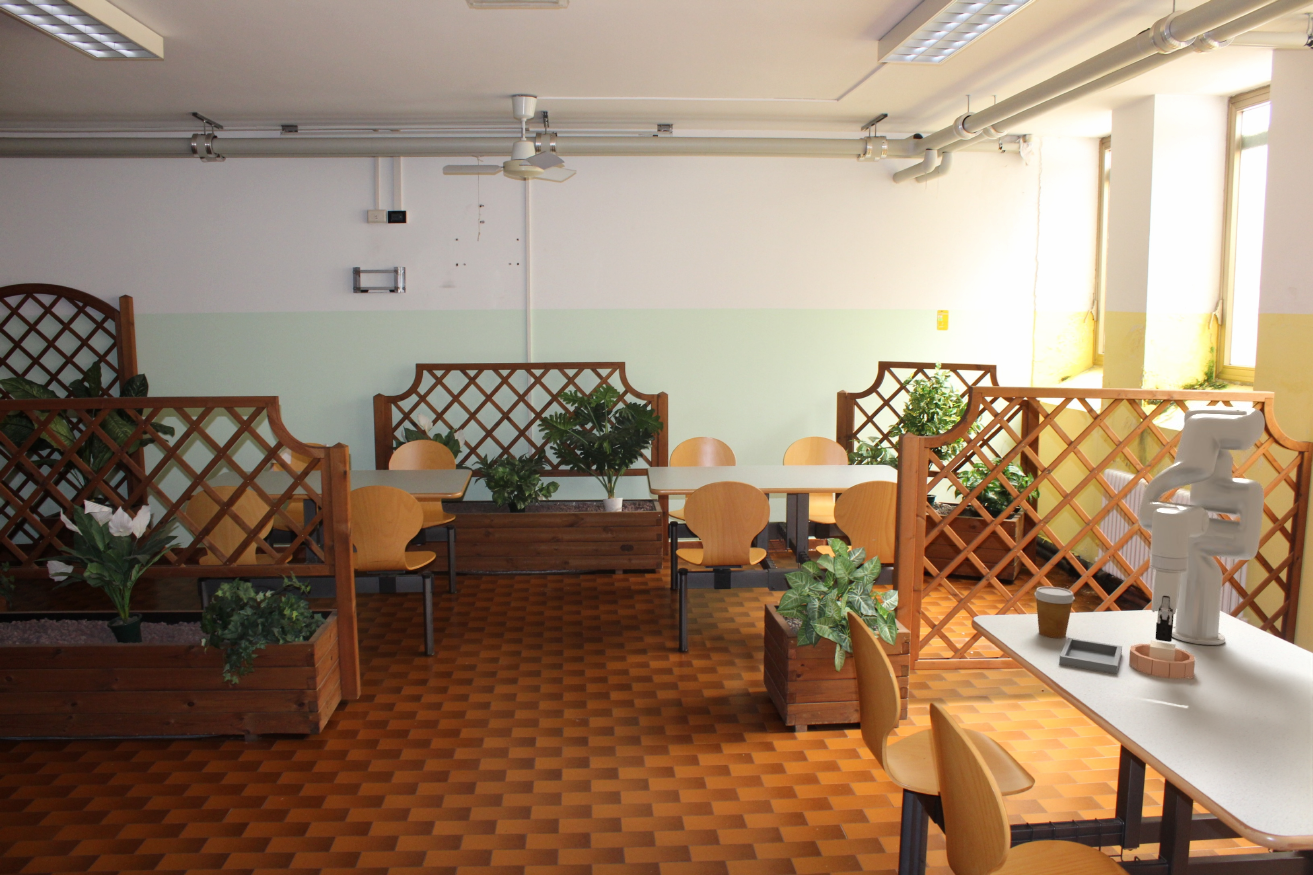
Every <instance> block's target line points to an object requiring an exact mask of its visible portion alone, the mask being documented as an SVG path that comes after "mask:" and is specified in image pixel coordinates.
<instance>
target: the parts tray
mask: <svg viewBox="0 0 1313 875" xmlns="http://www.w3.org/2000/svg"><path fill="white" fill-rule="evenodd" d="M1122 654H1123V645H1115V644H1110V643H1103V642H1099V641H1091V640H1085V639H1080V638H1074V637H1073V638H1072V637H1067V639H1066V642H1065V643H1064V646H1063V648H1062V649H1061V652H1060V655H1059V662H1058V665H1060V666H1065V667H1071V668H1075V669H1076V668H1077V669H1083V670H1089V671H1095V672H1100V673H1105V674H1106V673H1107V674H1110V675H1118V670H1119V668H1120V664H1121V658H1122Z"/></svg>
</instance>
